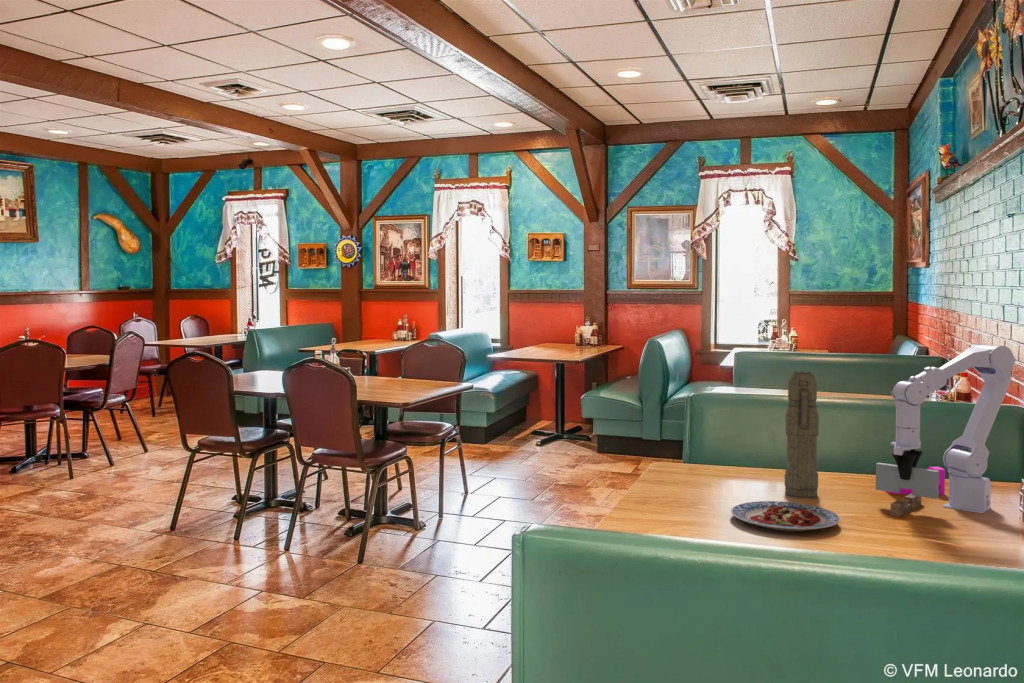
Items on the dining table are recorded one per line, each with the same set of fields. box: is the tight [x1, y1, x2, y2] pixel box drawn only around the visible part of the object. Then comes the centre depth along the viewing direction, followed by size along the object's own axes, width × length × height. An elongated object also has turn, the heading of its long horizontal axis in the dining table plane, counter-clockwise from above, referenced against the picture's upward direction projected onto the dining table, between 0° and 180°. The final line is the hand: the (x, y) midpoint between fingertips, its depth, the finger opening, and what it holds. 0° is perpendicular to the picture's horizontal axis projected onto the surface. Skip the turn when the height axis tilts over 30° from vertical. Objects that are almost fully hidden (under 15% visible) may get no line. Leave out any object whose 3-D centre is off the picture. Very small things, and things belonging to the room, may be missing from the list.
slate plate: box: [875, 462, 940, 500], centre depth 210 cm, size 15×2×7 cm, turn 45°
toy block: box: [885, 466, 946, 495], centre depth 230 cm, size 15×6×8 cm, turn 87°
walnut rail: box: [890, 493, 922, 517], centre depth 211 cm, size 17×2×3 cm, turn 135°
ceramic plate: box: [730, 500, 841, 532], centre depth 200 cm, size 26×26×3 cm
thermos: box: [784, 371, 820, 499], centre depth 226 cm, size 9×12×35 cm
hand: (906, 478), depth 210 cm, fingers closed on slate plate, 2 cm apart
